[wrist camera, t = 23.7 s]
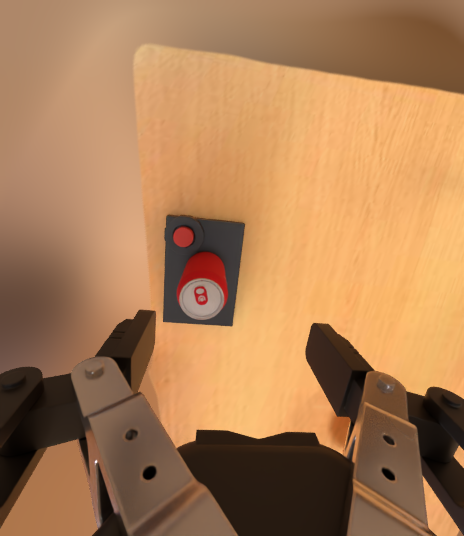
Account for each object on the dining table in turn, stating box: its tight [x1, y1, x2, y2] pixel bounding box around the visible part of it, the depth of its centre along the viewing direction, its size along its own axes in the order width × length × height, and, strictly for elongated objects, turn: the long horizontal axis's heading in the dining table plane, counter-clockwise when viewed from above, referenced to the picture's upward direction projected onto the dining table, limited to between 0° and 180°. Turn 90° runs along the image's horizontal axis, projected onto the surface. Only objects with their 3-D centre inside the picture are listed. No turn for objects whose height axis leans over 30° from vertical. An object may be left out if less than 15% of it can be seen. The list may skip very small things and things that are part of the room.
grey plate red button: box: [163, 215, 245, 326], centre depth 40 cm, size 18×12×4 cm, turn 174°
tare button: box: [173, 226, 194, 247], centre depth 35 cm, size 3×3×2 cm
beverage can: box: [177, 252, 228, 320], centre depth 34 cm, size 6×6×12 cm
